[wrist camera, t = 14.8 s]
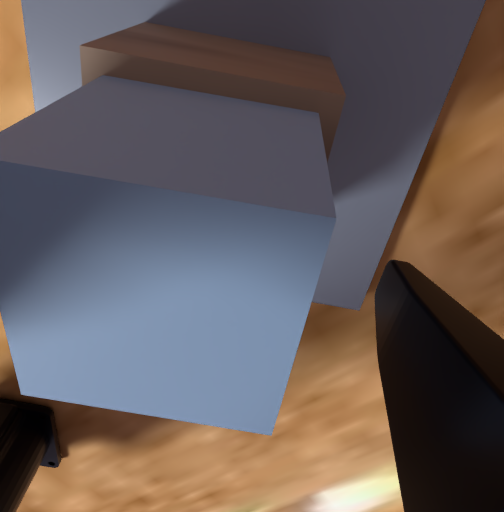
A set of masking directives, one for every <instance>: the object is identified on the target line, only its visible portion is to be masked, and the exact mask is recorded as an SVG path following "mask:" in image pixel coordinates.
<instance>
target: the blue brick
mask: <svg viewBox="0 0 504 512" xmlns="http://www.w3.org/2000/svg"><path fill="white" fill-rule="evenodd" d="M336 219H337V218H336V212H335V206H334V200H333V194H332V188H331V182H330V177H329V171H328V165H327V159H326V153H325V147H324V141H323V136H322V130H321V124H320V118H319V113H316V112H310V111H305V110H299V109H293V108H288V107H282V106H276V105H271V104H265V103H259V102H253V101H248V100H242V99H236V98H231V97H225V96H219V95H214V94H208V93H202V92H197V91H191V90H185V89H179V88H174V87H168V86H162V85H157V84H151V83H145V82H140V81H134V80H128V79H123V78H117V77H111V76H105V75H102V76H100V77H98V78H97V79H95V80H93V81H91V82H89V83H88V84H86V85H84V86H82V87H80V88H79V89H77V90H75V91H73V92H71V93H70V94H68V95H66V96H64V97H62V98H61V99H59V100H57V101H55V102H53V103H52V104H50V105H48V106H46V107H44V108H43V109H41V110H39V111H37V112H35V113H34V114H32V115H30V116H28V117H26V118H24V119H23V120H21V121H19V122H17V123H15V124H14V125H12V126H10V127H8V128H6V129H5V130H3V131H1V132H0V312H1V316H2V320H3V324H4V328H5V332H6V336H7V340H8V344H9V348H10V352H11V356H12V360H13V364H14V368H15V372H16V376H17V380H18V384H19V388H20V392H21V395H26V396H32V397H38V398H44V399H51V400H57V401H63V402H69V403H75V404H81V405H87V406H93V407H100V408H106V409H112V410H118V411H124V412H130V413H136V414H142V415H149V416H155V417H161V418H167V419H173V420H179V421H185V422H191V423H197V424H204V425H210V426H216V427H222V428H228V429H234V430H240V431H246V432H253V433H259V434H265V435H272V432H273V429H274V425H275V422H276V419H277V415H278V412H279V409H280V405H281V402H282V399H283V395H284V392H285V389H286V385H287V382H288V379H289V375H290V372H291V369H292V365H293V362H294V359H295V355H296V352H297V349H298V345H299V342H300V339H301V335H302V332H303V329H304V325H305V322H306V319H307V315H308V312H309V309H310V305H311V302H312V299H313V295H314V292H315V289H316V285H317V282H318V279H319V275H320V272H321V269H322V265H323V262H324V259H325V255H326V252H327V249H328V245H329V242H330V239H331V235H332V232H333V229H334V225H335V222H336Z"/></svg>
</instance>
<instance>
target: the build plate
mask: <svg viewBox="0 0 504 512" xmlns="http://www.w3.org/2000/svg"><path fill="white" fill-rule="evenodd" d="M485 1H486V0H21V3H22V11H23V19H24V27H25V35H26V43H27V51H28V59H29V67H30V75H31V82H32V90H33V98H34V106H35V112H37V111H39V110H41V109H43V108H44V107H46V106H48V105H50V104H52V103H53V102H55V101H57V100H59V99H61V98H62V97H64V96H66V95H68V94H70V93H71V92H73V91H75V90H77V89H79V88H80V87H82V77H81V61H80V45H82V44H84V43H87V42H90V41H93V40H96V39H98V38H101V37H104V36H107V35H110V34H113V33H115V32H118V31H121V30H124V29H127V28H129V27H132V26H135V25H138V24H141V23H143V22H148V23H153V24H159V25H164V26H169V27H174V28H180V29H185V30H190V31H195V32H201V33H206V34H211V35H216V36H222V37H227V38H232V39H237V40H242V41H248V42H253V43H258V44H263V45H269V46H274V47H279V48H284V49H290V50H295V51H300V52H305V53H311V54H316V55H321V56H326V57H330V58H331V60H332V63H333V65H334V68H335V70H336V72H337V75H338V77H339V80H340V82H341V85H342V87H343V90H344V92H345V94H346V98H345V101H344V105H343V108H342V112H341V116H340V119H339V123H338V126H337V130H336V134H335V137H334V141H333V145H332V148H331V152H330V155H329V159H328V163H327V165H328V171H329V177H330V182H331V188H332V194H333V200H334V206H335V212H336V218H337V219H336V222H335V225H334V229H333V232H332V235H331V239H330V242H329V245H328V249H327V252H326V255H325V259H324V262H323V265H322V269H321V272H320V275H319V279H318V282H317V285H316V289H315V292H314V295H313V299H312V302H315V303H320V304H326V305H331V306H337V307H343V308H348V309H354V310H360V308H361V305H362V303H363V300H364V298H365V295H366V293H367V290H368V288H369V286H370V283H371V281H372V278H373V276H374V273H375V271H376V268H377V266H378V264H379V261H380V259H381V256H382V254H383V251H384V249H385V246H386V244H387V241H388V239H389V237H390V234H391V232H392V229H393V227H394V224H395V222H396V219H397V217H398V214H399V212H400V210H401V207H402V205H403V202H404V200H405V197H406V195H407V192H408V190H409V187H410V185H411V183H412V180H413V178H414V175H415V173H416V170H417V168H418V165H419V163H420V161H421V158H422V156H423V153H424V151H425V148H426V146H427V143H428V141H429V138H430V136H431V134H432V131H433V129H434V126H435V124H436V121H437V119H438V116H439V114H440V111H441V109H442V107H443V104H444V102H445V99H446V97H447V94H448V92H449V89H450V87H451V84H452V82H453V80H454V77H455V75H456V72H457V70H458V67H459V65H460V62H461V60H462V57H463V55H464V53H465V50H466V48H467V45H468V43H469V40H470V38H471V35H472V33H473V31H474V28H475V26H476V23H477V21H478V18H479V16H480V13H481V11H482V8H483V6H484V4H485Z"/></svg>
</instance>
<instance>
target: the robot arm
mask: <svg viewBox="0 0 504 512" xmlns="http://www.w3.org/2000/svg"><path fill="white" fill-rule="evenodd" d="M375 318H376V340H377V356H378V364H379V370H380V376H381V381H382V387H383V393H384V399H385V404H386V410H387V416H388V421H389V427H390V433H391V439H392V444H393V450H394V456H395V461H396V467H397V473H398V479H399V484H400V490H401V496H402V501H403V507H404V512H504V339H502V338H501V337H500V336H499V335H497V334H496V333H495V332H494V331H493V330H491V329H490V328H489V327H488V326H486V325H485V324H484V323H483V322H481V321H480V320H479V319H478V318H477V317H475V316H474V315H473V314H472V313H470V312H469V311H468V310H467V309H465V308H464V307H463V306H462V305H461V304H459V303H458V302H457V301H456V300H454V299H453V298H452V297H451V296H449V295H448V294H447V293H446V292H445V291H443V290H442V289H441V288H440V287H438V286H437V285H436V284H435V283H433V282H432V281H431V280H430V279H429V278H427V277H426V276H425V275H424V274H422V273H421V272H420V271H419V270H417V269H416V268H415V267H414V266H413V265H411V264H410V263H408V262H403V261H398V260H390V261H389V262H388V263H387V265H386V267H385V269H384V272H383V274H382V276H381V279H380V281H379V284H378V286H377V288H376V292H375ZM60 462H61V455H60V449H59V443H58V437H57V431H56V425H55V419H54V413H53V411H52V410H51V409H50V408H48V407H44V406H39V405H33V404H27V403H21V402H15V401H9V400H3V399H0V512H16V511H17V509H18V507H19V505H20V503H21V501H22V499H23V497H24V495H25V493H26V491H27V489H28V487H29V485H30V483H31V481H32V480H33V478H34V476H35V474H36V472H37V470H38V468H39V466H46V467H52V468H56V467H58V466H59V464H60Z"/></svg>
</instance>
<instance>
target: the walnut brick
mask: <svg viewBox="0 0 504 512" xmlns="http://www.w3.org/2000/svg"><path fill="white" fill-rule="evenodd" d="M80 61H81V77H82V86H84V85H86V84H88V83H89V82H91V81H93V80H95V79H97V78H98V77H100V76H102V75H105V76H111V77H117V78H123V79H128V80H134V81H140V82H145V83H151V84H157V85H162V86H168V87H174V88H179V89H185V90H191V91H197V92H202V93H208V94H214V95H219V96H225V97H231V98H236V99H242V100H248V101H253V102H259V103H265V104H271V105H276V106H282V107H288V108H293V109H299V110H305V111H310V112H316V113H319V118H320V124H321V130H322V136H323V141H324V147H325V153H326V159H327V163H328V159H329V155H330V152H331V148H332V145H333V141H334V137H335V134H336V130H337V126H338V123H339V119H340V116H341V112H342V108H343V105H344V101H345V98H346V94H345V92H344V90H343V87H342V85H341V82H340V80H339V77H338V75H337V72H336V70H335V68H334V65H333V63H332V60H331V58H330V57H326V56H321V55H316V54H311V53H305V52H300V51H295V50H290V49H284V48H279V47H274V46H269V45H263V44H258V43H253V42H248V41H242V40H237V39H232V38H227V37H222V36H216V35H211V34H206V33H201V32H195V31H190V30H185V29H180V28H174V27H169V26H164V25H159V24H153V23H148V22H143V23H141V24H138V25H135V26H132V27H129V28H127V29H124V30H121V31H118V32H115V33H113V34H110V35H107V36H104V37H101V38H98V39H96V40H93V41H90V42H87V43H84V44H82V45H80Z"/></svg>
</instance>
